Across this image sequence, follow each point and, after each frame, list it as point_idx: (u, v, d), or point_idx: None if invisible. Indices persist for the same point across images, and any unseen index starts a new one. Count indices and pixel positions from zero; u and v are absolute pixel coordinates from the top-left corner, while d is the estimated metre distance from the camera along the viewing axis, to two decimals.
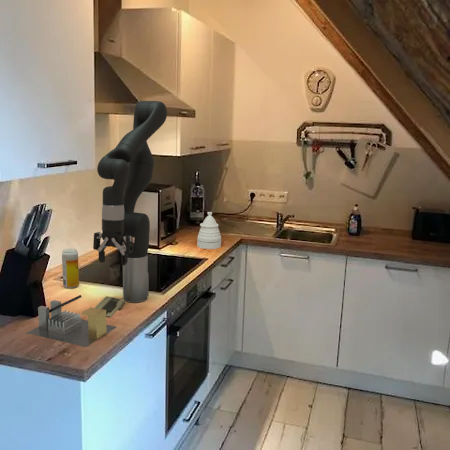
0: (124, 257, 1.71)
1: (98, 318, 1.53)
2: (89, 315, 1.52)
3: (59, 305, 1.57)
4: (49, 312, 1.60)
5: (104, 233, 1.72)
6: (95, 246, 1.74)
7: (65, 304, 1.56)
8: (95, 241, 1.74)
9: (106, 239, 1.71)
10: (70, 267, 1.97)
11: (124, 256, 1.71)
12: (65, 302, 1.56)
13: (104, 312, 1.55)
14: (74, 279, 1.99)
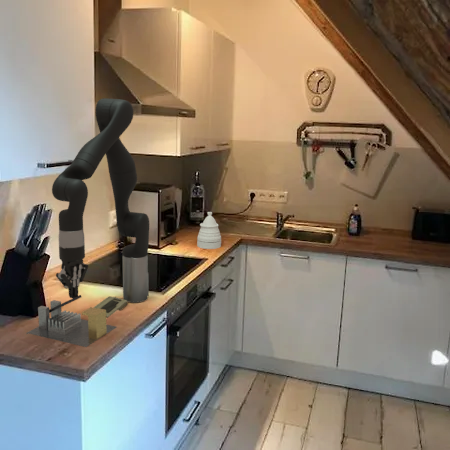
0: (77, 287, 1.57)
1: (98, 318, 1.53)
2: (89, 315, 1.52)
3: (59, 305, 1.57)
4: (49, 312, 1.60)
5: (67, 264, 1.51)
6: (70, 283, 1.52)
7: (65, 304, 1.56)
8: (67, 280, 1.51)
9: (75, 269, 1.53)
10: None
11: (77, 286, 1.57)
12: (65, 302, 1.56)
13: (104, 312, 1.55)
14: None
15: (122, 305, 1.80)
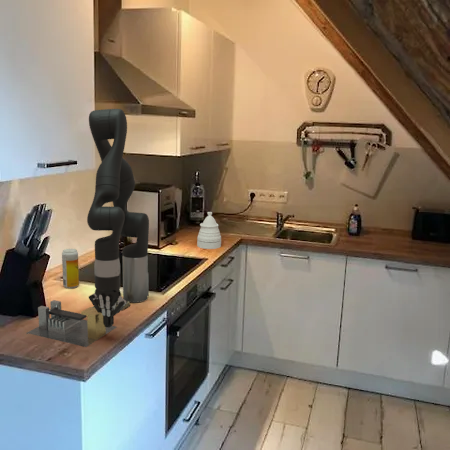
0: None
1: (97, 318, 1.53)
2: (88, 315, 1.52)
3: (62, 314, 1.58)
4: None
5: None
6: None
7: (68, 317, 1.57)
8: None
9: None
10: (70, 267, 1.97)
11: None
12: (69, 316, 1.57)
13: None
14: (74, 279, 1.99)
15: None
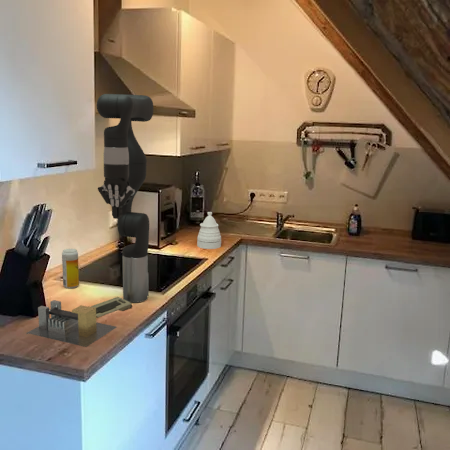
0: None
1: (88, 316, 1.54)
2: (79, 313, 1.54)
3: (62, 314, 1.58)
4: None
5: None
6: None
7: (68, 317, 1.57)
8: None
9: None
10: (70, 267, 1.97)
11: None
12: (69, 316, 1.57)
13: (94, 310, 1.57)
14: (74, 279, 1.99)
15: (123, 307, 1.78)
